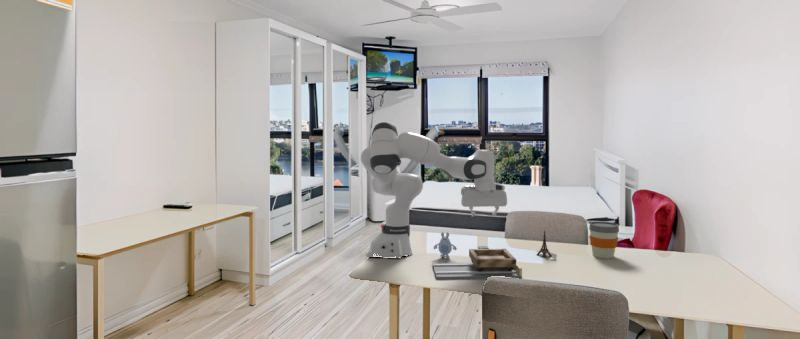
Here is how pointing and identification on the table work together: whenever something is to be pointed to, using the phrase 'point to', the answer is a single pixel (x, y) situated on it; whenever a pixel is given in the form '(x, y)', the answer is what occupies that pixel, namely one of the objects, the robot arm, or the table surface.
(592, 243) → the reusable coffee cup
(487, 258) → the shallow wooden tray
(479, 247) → the slate block
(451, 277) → the track
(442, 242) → the toy figure
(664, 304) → the table surface
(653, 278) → the table surface
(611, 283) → the table surface
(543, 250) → the eiffel tower figurine
